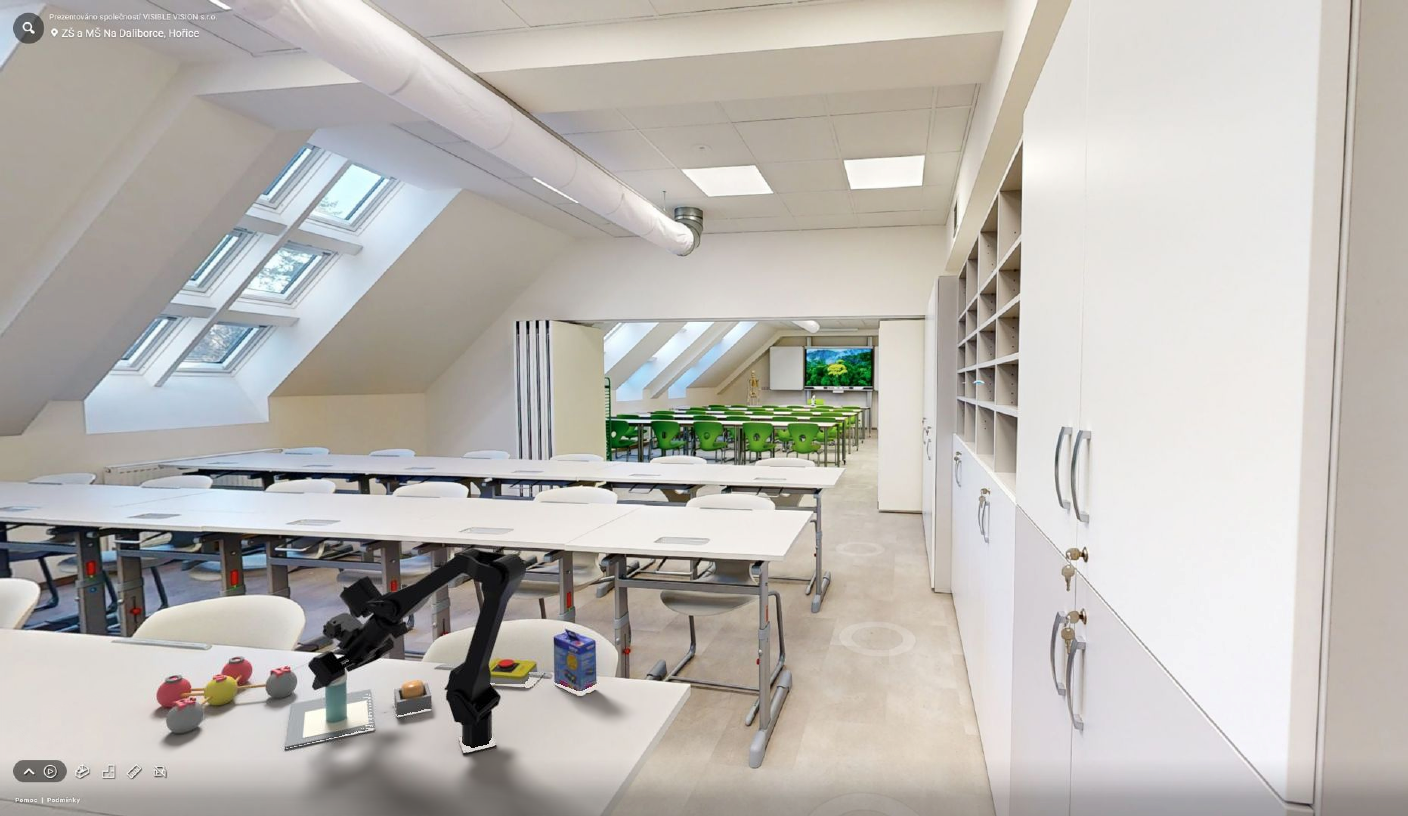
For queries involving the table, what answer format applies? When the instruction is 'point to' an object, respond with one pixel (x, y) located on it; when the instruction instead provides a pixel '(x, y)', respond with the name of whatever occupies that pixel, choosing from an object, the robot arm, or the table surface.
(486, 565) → the robot arm
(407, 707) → the button housing
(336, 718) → the white-capped teal tube
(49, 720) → the table surface
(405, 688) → the button
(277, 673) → the molecule model
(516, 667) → the emergency button
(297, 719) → the drawing board
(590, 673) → the ink cartridge box
